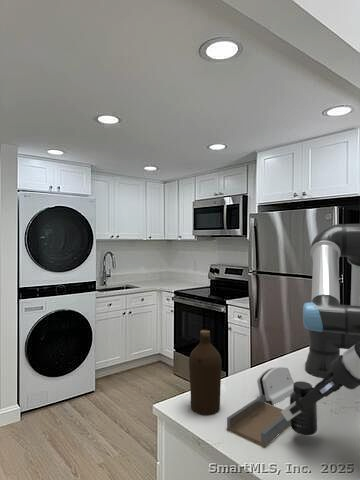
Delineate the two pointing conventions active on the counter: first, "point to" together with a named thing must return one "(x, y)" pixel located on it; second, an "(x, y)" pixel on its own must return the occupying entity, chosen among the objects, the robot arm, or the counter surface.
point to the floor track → (258, 422)
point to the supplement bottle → (307, 419)
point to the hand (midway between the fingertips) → (291, 410)
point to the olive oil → (205, 376)
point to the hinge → (275, 384)
